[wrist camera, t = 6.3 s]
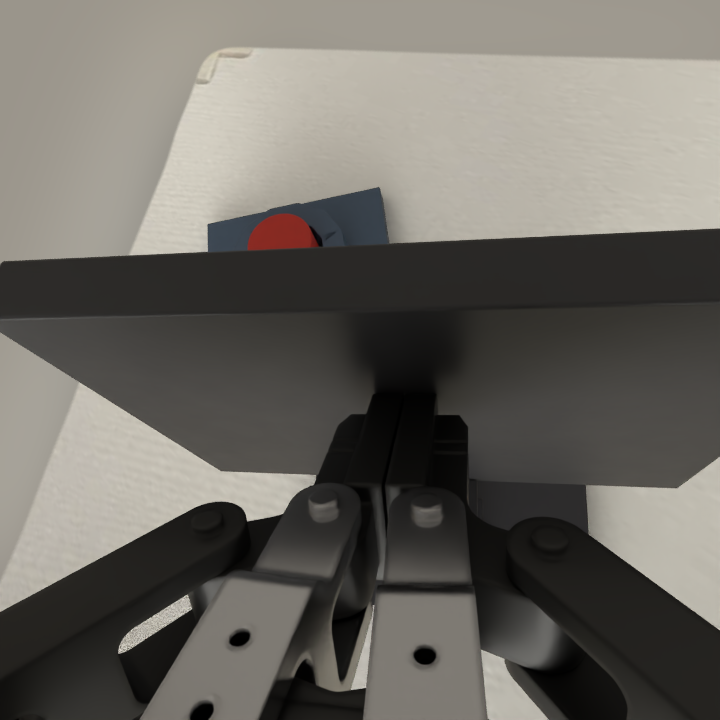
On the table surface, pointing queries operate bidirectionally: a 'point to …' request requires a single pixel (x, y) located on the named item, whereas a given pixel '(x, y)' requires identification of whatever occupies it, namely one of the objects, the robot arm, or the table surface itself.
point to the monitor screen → (403, 348)
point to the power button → (281, 233)
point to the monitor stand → (527, 504)
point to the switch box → (314, 222)
